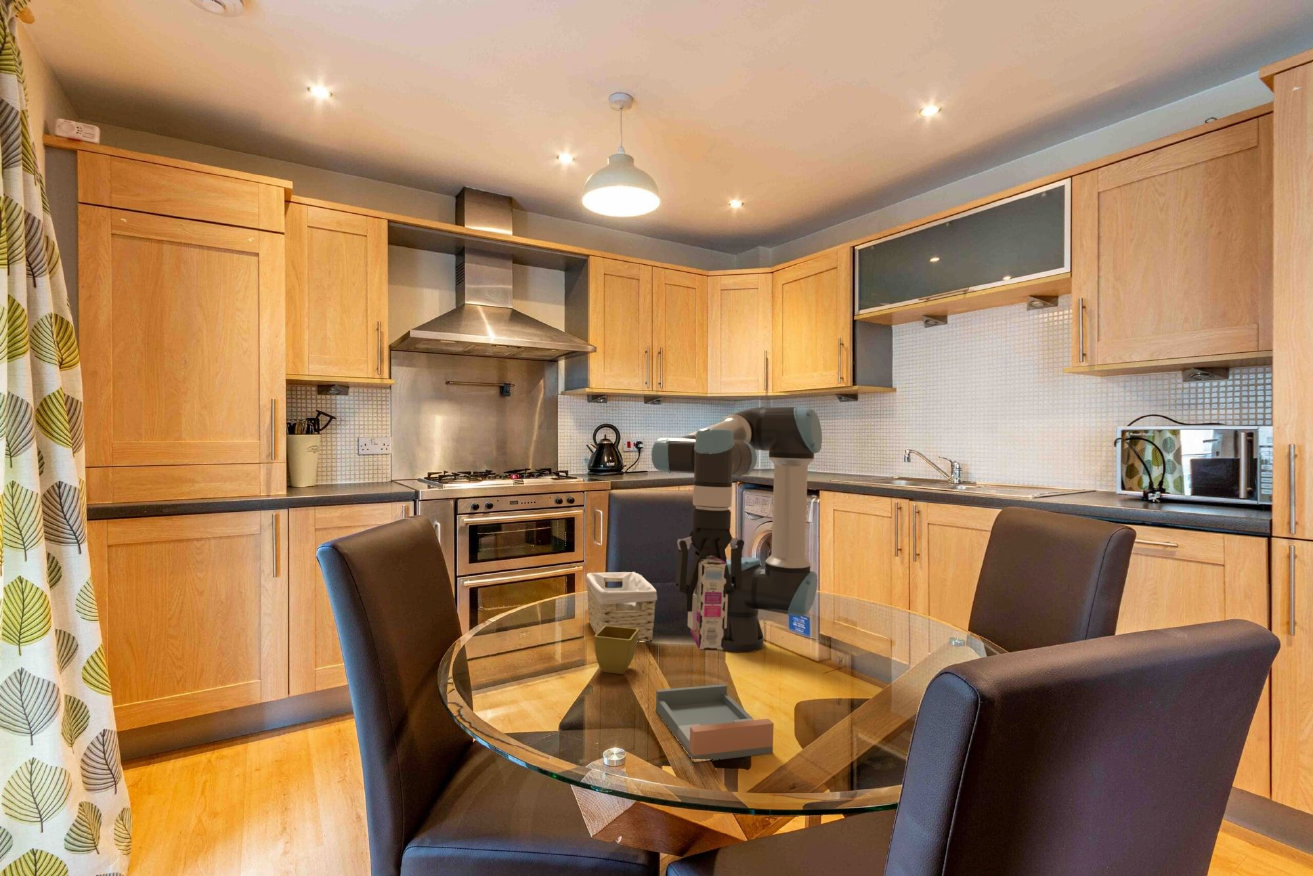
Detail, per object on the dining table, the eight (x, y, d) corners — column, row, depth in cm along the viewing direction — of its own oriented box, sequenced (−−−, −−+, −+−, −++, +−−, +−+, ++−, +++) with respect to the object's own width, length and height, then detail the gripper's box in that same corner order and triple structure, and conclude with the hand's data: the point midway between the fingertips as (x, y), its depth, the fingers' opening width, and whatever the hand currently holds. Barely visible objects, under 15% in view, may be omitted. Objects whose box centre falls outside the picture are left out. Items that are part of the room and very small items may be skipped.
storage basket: (657, 644, 168) (659, 589, 168) (597, 647, 164) (600, 591, 164) (635, 619, 191) (637, 571, 191) (582, 621, 187) (584, 572, 187)
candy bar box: (725, 651, 116) (728, 562, 116) (698, 651, 116) (701, 562, 116) (714, 632, 127) (716, 552, 128) (689, 632, 127) (692, 552, 127)
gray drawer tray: (724, 704, 130) (725, 679, 130) (772, 753, 110) (773, 723, 110) (655, 710, 126) (656, 684, 126) (693, 762, 106) (694, 732, 106)
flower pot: (628, 679, 142) (630, 639, 142) (592, 674, 144) (593, 635, 144) (637, 666, 151) (639, 628, 151) (602, 662, 153) (604, 625, 153)
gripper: (746, 506, 128) (742, 619, 128) (660, 505, 123) (655, 623, 122) (763, 510, 121) (759, 630, 121) (672, 509, 115) (667, 635, 115)
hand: (707, 626), depth 122 cm, fingers closed on candy bar box, 6 cm apart
